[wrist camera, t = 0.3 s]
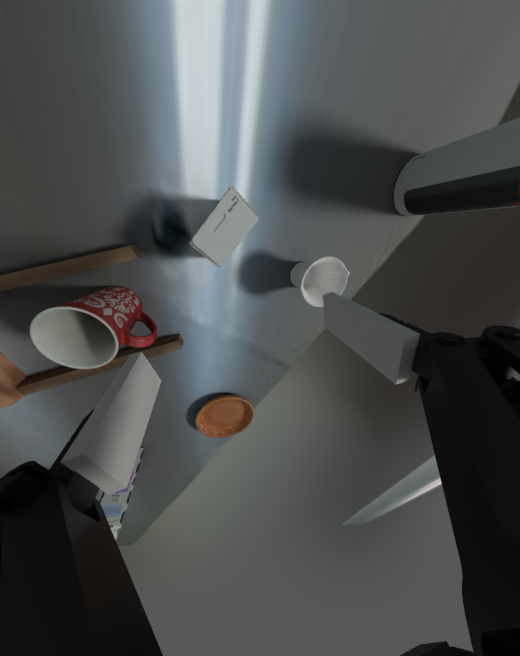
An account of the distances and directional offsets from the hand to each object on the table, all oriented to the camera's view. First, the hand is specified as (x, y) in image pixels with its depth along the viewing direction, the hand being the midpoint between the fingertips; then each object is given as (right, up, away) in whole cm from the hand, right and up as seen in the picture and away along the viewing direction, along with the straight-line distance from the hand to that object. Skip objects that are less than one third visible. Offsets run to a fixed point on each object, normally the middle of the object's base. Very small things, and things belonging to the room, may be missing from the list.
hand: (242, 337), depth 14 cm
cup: (+10, +13, +28) cm, 32 cm away
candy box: (-37, -38, +41) cm, 67 cm away
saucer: (-9, -23, +41) cm, 48 cm away
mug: (-23, +5, +23) cm, 33 cm away
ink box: (-6, +18, +20) cm, 28 cm away
